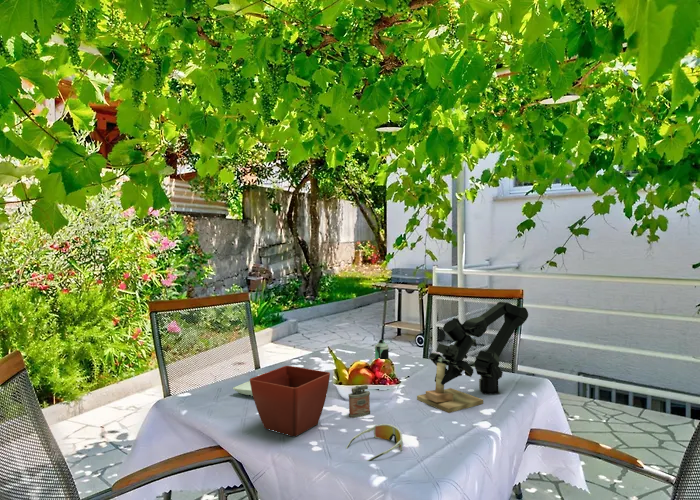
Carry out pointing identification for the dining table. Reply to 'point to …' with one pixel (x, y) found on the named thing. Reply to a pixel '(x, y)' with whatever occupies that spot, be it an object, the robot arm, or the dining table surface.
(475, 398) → the board
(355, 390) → the lighter
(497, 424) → the dining table surface
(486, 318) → the robot arm
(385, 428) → the sunglasses
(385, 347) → the spray can
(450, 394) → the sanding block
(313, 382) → the plant pot
